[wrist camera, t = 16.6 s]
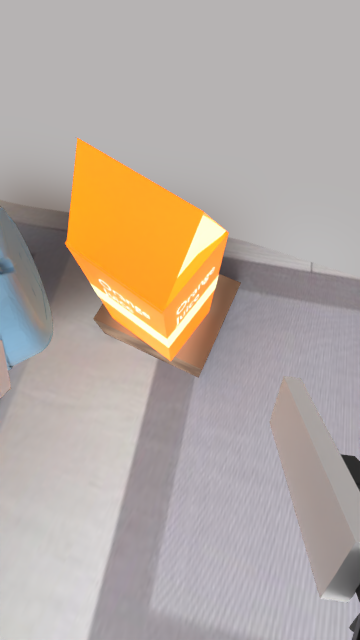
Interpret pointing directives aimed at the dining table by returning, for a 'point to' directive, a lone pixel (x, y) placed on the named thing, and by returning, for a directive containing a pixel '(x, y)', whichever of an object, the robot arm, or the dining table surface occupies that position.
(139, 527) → the dining table surface
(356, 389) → the dining table surface
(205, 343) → the base brick
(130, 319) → the orange juice
